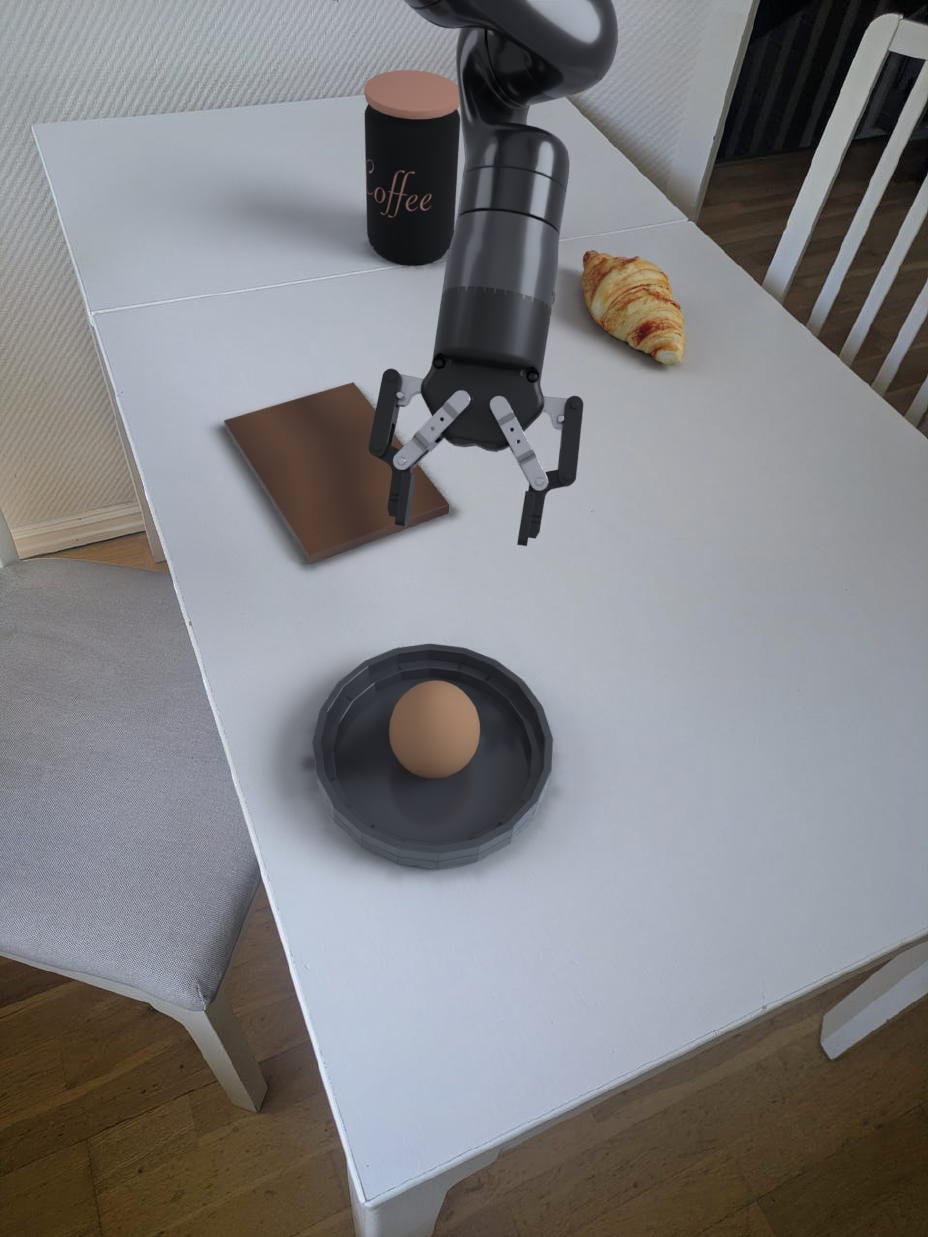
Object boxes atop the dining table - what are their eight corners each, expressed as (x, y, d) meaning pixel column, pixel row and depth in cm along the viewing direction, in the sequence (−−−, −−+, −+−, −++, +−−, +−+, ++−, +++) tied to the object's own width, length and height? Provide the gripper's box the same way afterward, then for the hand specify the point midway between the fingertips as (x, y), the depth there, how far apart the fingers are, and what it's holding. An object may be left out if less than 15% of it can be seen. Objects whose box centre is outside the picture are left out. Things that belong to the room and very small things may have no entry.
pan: (382, 914, 60) (382, 897, 58) (279, 719, 69) (275, 698, 67) (591, 802, 66) (599, 783, 64) (472, 636, 75) (475, 614, 73)
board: (309, 564, 79) (308, 555, 78) (225, 429, 89) (223, 420, 88) (449, 513, 84) (449, 504, 83) (353, 391, 94) (353, 381, 93)
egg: (414, 708, 70) (417, 644, 63) (490, 742, 68) (500, 680, 62) (373, 773, 66) (371, 712, 60) (452, 811, 65) (458, 753, 58)
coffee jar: (349, 247, 111) (343, 89, 97) (402, 214, 117) (403, 61, 103) (419, 278, 108) (423, 119, 94) (469, 243, 114) (480, 88, 100)
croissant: (688, 393, 103) (734, 334, 99) (631, 375, 97) (677, 311, 92) (597, 290, 114) (635, 233, 110) (540, 268, 108) (578, 206, 103)
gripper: (385, 267, 58) (351, 520, 60) (607, 298, 57) (565, 553, 59) (400, 296, 65) (369, 520, 67) (597, 324, 65) (560, 550, 66)
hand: (461, 535), depth 63 cm, fingers open, 8 cm apart
